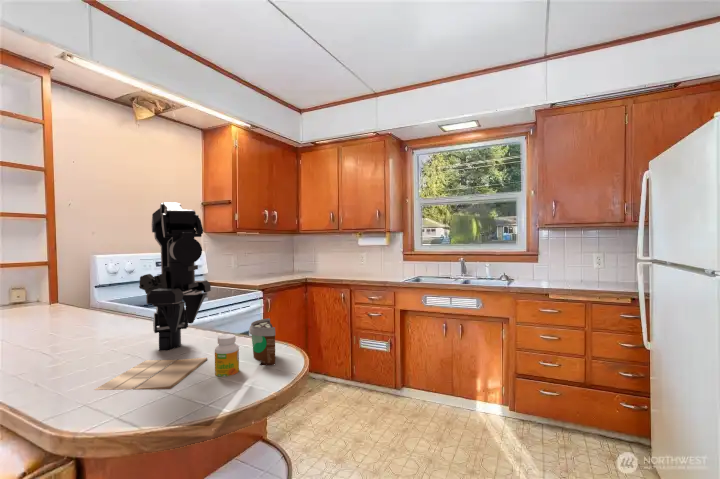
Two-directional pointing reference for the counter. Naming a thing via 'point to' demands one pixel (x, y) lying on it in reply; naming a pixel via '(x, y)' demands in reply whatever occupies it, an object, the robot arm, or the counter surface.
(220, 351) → the supplement bottle
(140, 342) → the counter surface
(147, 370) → the floor board
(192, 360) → the plank
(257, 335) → the food container
